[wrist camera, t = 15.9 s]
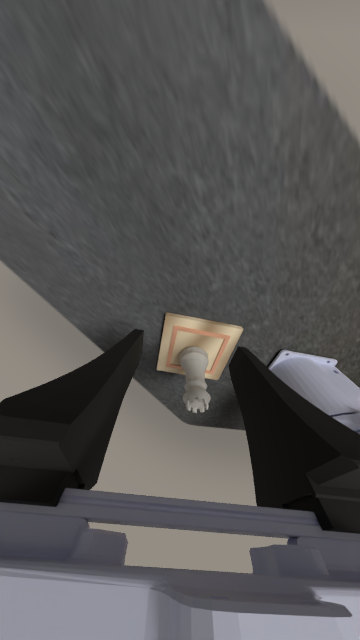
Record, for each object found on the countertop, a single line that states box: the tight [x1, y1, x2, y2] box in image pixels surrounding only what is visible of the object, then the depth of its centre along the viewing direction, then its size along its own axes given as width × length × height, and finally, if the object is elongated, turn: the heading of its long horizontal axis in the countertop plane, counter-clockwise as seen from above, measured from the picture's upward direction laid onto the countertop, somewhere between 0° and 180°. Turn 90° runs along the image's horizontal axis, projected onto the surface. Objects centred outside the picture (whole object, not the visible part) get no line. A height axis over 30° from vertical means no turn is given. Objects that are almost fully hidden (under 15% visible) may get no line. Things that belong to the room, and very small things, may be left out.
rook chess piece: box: [180, 346, 211, 413], centre depth 19 cm, size 4×4×8 cm
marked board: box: [157, 312, 243, 380], centre depth 23 cm, size 11×11×1 cm
